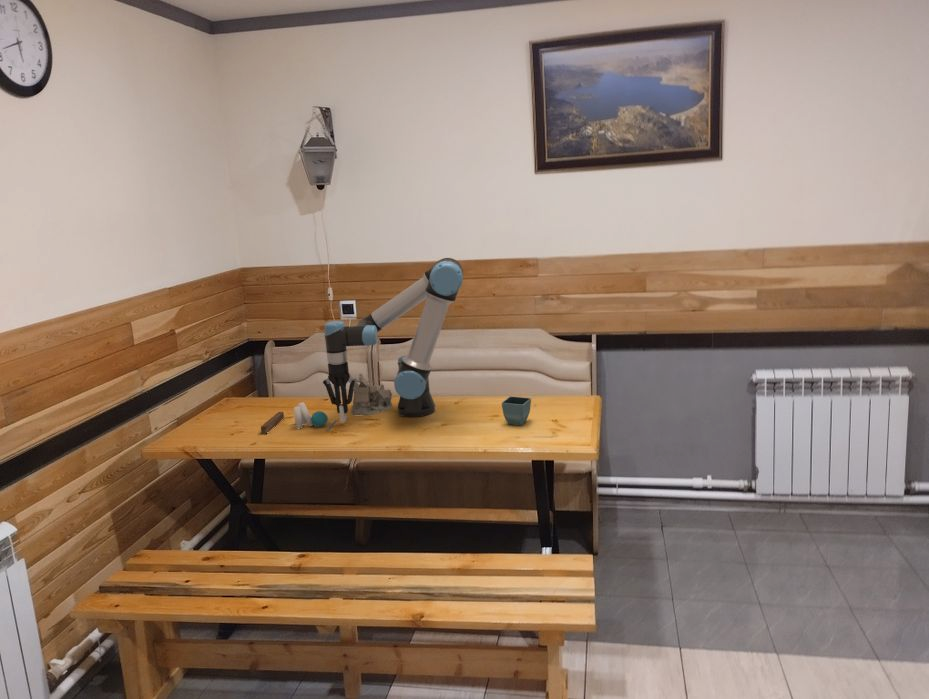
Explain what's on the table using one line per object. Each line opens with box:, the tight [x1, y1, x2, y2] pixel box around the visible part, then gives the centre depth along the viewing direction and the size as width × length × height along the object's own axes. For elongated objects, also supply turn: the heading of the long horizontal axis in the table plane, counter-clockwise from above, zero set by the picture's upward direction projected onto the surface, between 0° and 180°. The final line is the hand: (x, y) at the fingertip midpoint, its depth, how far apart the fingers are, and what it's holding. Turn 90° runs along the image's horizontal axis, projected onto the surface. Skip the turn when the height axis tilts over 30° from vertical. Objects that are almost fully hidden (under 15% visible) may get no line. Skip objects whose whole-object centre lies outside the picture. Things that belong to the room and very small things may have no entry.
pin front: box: [300, 404, 315, 427], centre depth 302 cm, size 2×2×8 cm
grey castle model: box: [350, 373, 394, 416], centre depth 317 cm, size 16×16×15 cm
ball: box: [311, 410, 328, 428], centre depth 301 cm, size 6×6×6 cm
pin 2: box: [297, 402, 307, 425], centre depth 305 cm, size 2×2×8 cm
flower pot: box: [501, 395, 532, 426], centre depth 290 cm, size 9×9×9 cm
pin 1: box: [293, 405, 303, 429], centre depth 300 cm, size 2×2×8 cm
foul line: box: [325, 419, 339, 432], centre depth 301 cm, size 1×12×1 cm, turn 171°
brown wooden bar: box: [260, 411, 285, 435], centre depth 305 cm, size 2×18×3 cm, turn 171°
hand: (343, 421), depth 300 cm, fingers closed
